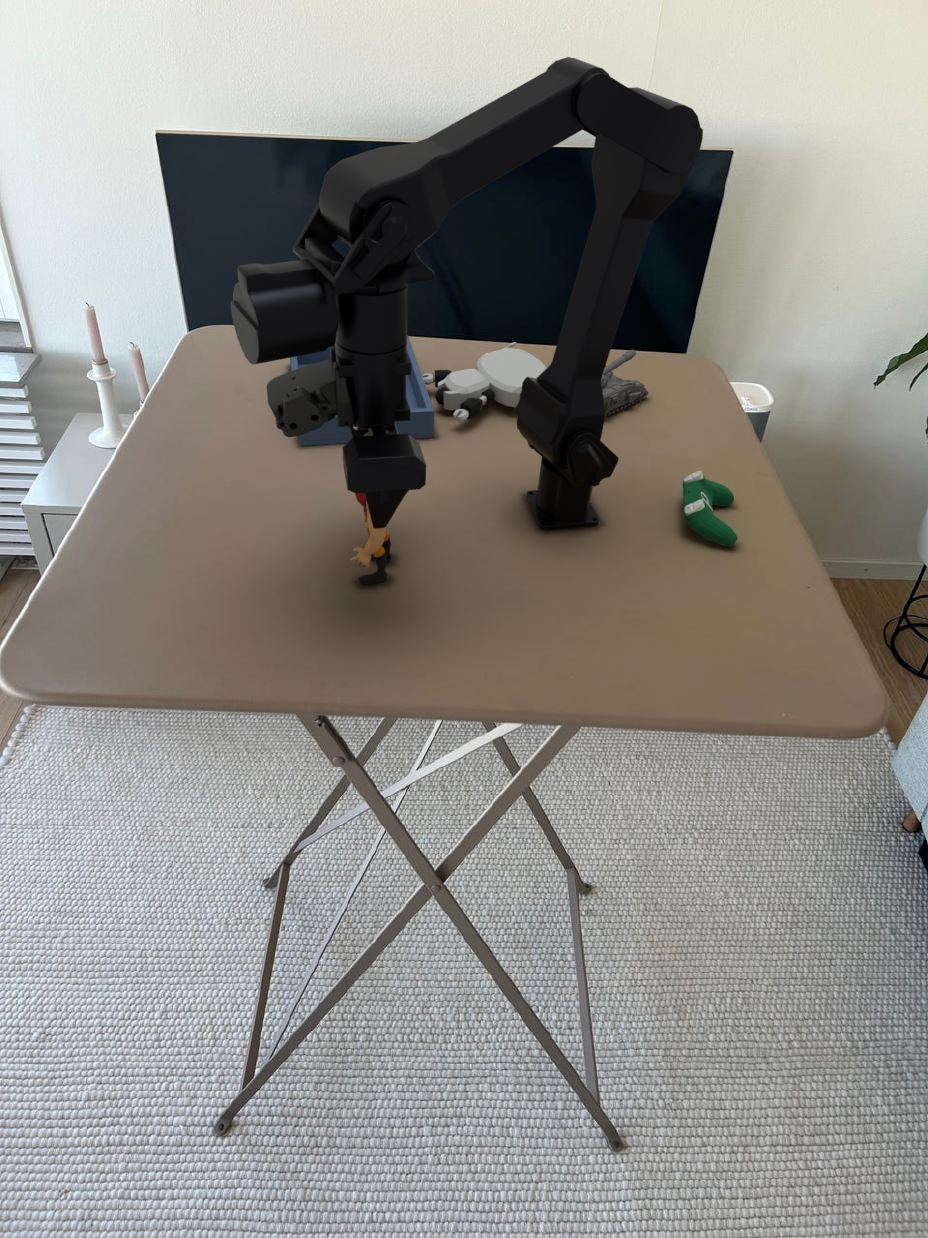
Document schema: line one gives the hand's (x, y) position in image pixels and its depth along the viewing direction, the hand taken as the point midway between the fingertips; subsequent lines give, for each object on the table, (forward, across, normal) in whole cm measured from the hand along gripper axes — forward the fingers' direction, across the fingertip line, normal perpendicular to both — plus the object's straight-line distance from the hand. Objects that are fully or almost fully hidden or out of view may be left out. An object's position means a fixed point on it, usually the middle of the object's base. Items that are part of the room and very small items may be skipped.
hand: (373, 501), depth 80 cm
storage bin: (+8, -34, +2) cm, 34 cm away
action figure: (+8, 0, 0) cm, 9 cm away
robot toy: (+8, -31, +19) cm, 37 cm away
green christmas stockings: (+8, -3, +36) cm, 37 cm away
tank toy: (+8, -30, +33) cm, 45 cm away
